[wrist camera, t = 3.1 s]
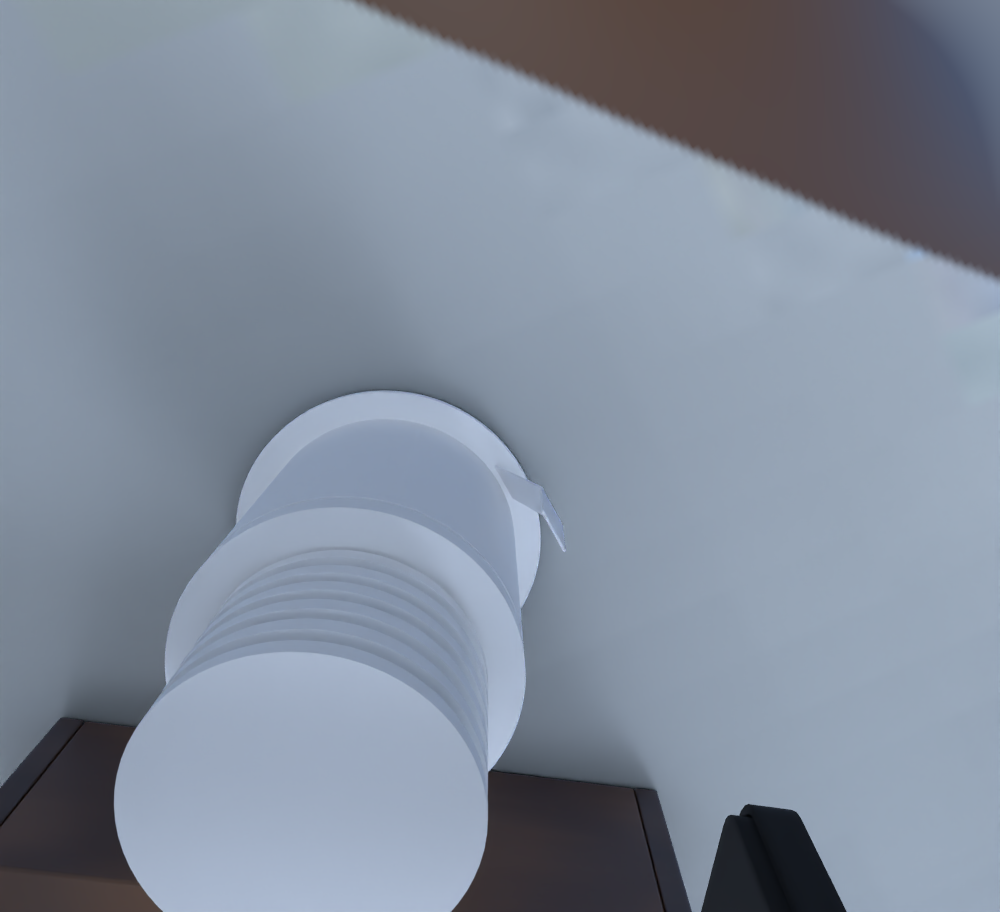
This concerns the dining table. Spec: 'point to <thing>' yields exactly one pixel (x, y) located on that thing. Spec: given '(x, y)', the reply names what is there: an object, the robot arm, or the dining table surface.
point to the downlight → (341, 671)
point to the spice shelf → (484, 908)
